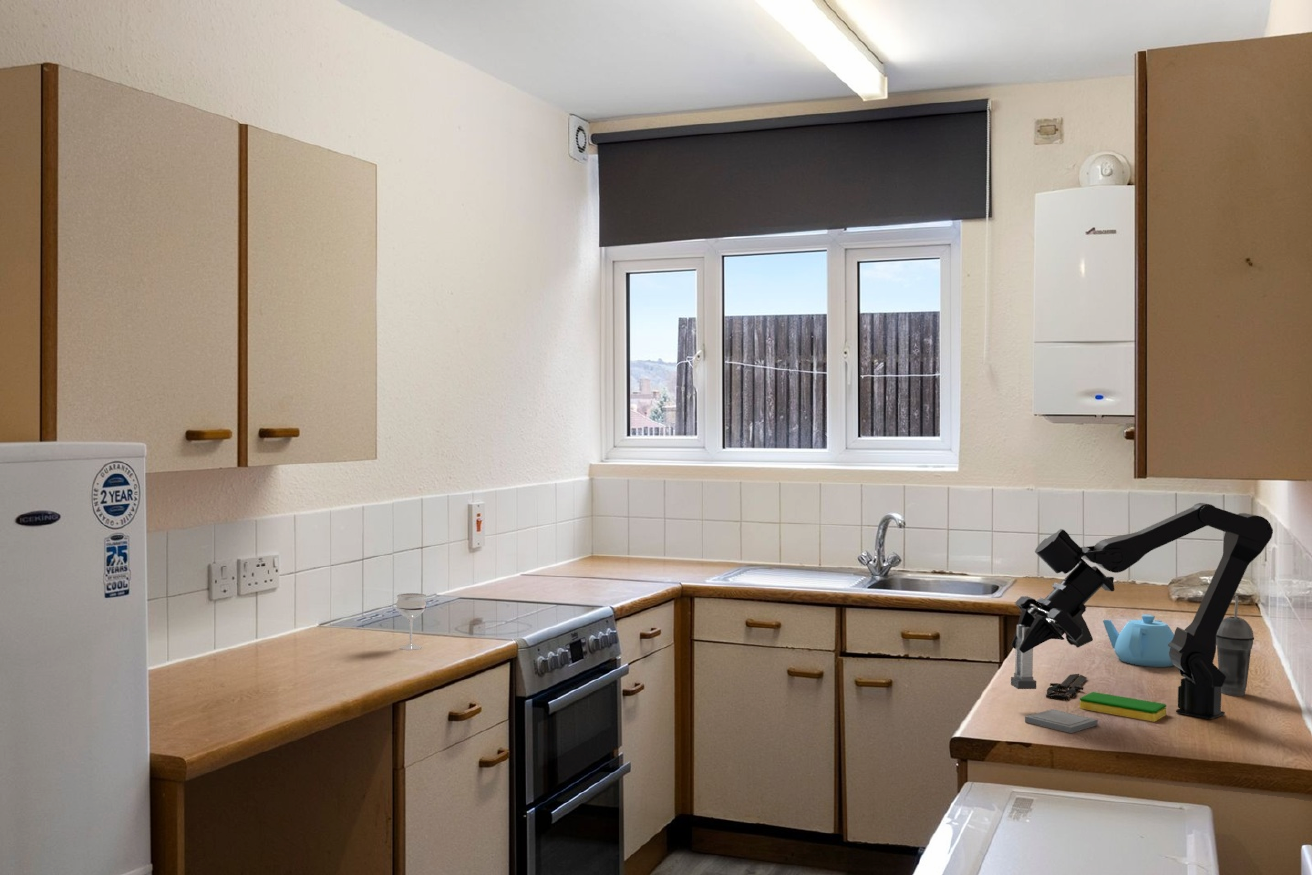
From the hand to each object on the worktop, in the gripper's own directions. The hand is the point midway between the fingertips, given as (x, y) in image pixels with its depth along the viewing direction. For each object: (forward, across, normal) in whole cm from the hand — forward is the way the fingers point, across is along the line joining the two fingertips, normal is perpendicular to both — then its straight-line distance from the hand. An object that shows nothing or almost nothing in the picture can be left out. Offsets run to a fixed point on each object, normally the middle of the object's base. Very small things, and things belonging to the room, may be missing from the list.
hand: (1017, 649), depth 214 cm
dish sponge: (-6, -2, -23) cm, 23 cm away
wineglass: (+93, +56, +78) cm, 133 cm away
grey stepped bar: (+4, 0, -6) cm, 7 cm away
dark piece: (-4, +18, -21) cm, 28 cm away
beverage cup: (-27, +12, -44) cm, 53 cm away
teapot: (-26, +43, -43) cm, 66 cm away
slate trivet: (+5, -10, -11) cm, 16 cm away
